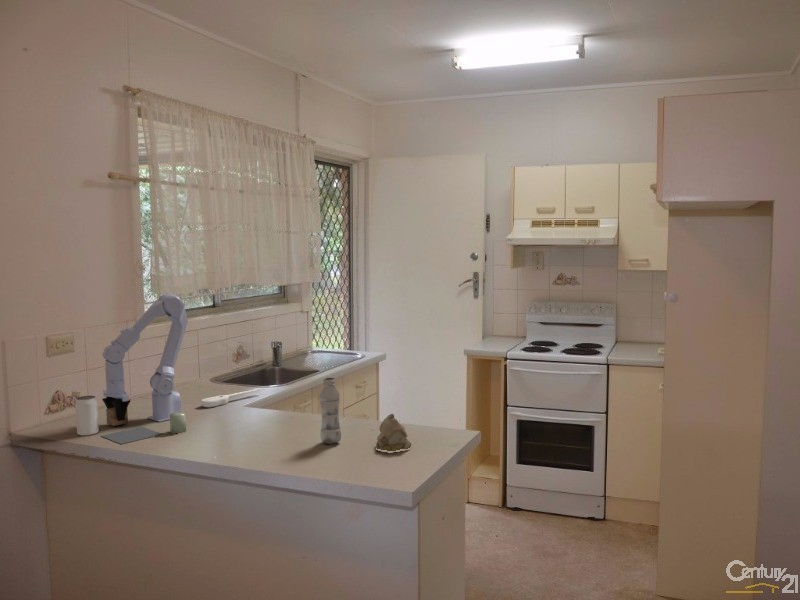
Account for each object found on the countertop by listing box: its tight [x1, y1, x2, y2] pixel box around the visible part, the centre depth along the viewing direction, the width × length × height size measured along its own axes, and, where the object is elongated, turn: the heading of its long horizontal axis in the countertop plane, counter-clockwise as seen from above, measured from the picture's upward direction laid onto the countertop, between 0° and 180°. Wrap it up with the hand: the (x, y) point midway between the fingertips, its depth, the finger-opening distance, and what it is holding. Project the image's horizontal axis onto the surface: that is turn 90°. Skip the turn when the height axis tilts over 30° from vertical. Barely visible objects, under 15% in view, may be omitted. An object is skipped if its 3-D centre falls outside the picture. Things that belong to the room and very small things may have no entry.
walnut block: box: [105, 408, 129, 427], centre depth 236 cm, size 5×5×5 cm
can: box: [74, 395, 99, 437], centre depth 226 cm, size 6×6×12 cm
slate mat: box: [100, 426, 163, 445], centre depth 223 cm, size 14×14×1 cm
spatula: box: [200, 387, 263, 408], centre depth 268 cm, size 28×6×3 cm, turn 140°
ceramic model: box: [375, 413, 413, 451], centre depth 207 cm, size 14×11×10 cm
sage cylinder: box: [169, 411, 187, 434], centre depth 226 cm, size 5×5×6 cm
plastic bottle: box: [319, 377, 342, 445], centre depth 210 cm, size 6×7×20 cm
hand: (117, 418), depth 236 cm, fingers closed on walnut block, 5 cm apart
